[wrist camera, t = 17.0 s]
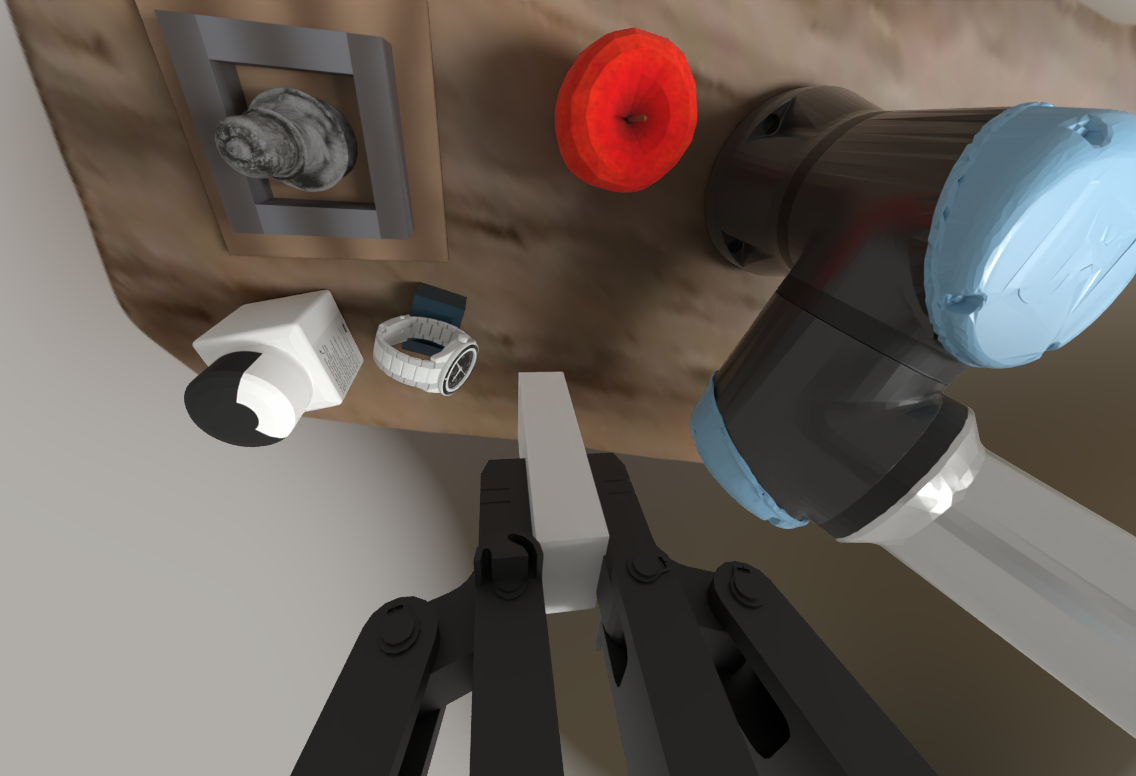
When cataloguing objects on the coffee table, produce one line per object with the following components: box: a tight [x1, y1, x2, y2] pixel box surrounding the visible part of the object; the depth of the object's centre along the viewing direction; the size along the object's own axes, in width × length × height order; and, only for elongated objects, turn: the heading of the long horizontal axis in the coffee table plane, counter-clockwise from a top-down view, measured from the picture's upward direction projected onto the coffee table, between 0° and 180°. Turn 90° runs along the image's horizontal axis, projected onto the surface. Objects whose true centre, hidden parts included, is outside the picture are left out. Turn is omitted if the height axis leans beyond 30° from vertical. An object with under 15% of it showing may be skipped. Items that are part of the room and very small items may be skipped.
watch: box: [373, 282, 479, 396], centre depth 34 cm, size 6×8×11 cm
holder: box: [135, 0, 449, 262], centre depth 29 cm, size 17×17×4 cm
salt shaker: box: [215, 87, 358, 192], centre depth 24 cm, size 6×6×12 cm
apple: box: [555, 28, 697, 193], centre depth 28 cm, size 9×9×11 cm
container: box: [184, 290, 364, 447], centre depth 33 cm, size 8×8×13 cm
